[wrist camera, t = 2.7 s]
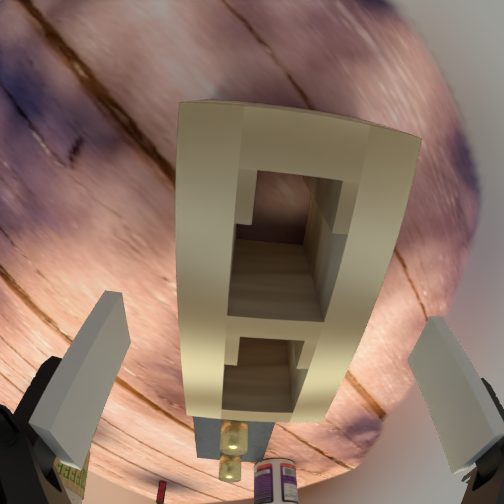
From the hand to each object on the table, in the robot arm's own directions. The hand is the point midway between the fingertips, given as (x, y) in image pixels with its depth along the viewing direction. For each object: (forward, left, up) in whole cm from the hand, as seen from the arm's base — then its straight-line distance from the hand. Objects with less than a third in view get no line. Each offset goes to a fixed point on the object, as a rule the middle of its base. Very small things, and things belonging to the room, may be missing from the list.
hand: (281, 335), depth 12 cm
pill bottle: (+32, +5, -8) cm, 33 cm away
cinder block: (0, 0, -8) cm, 8 cm away
